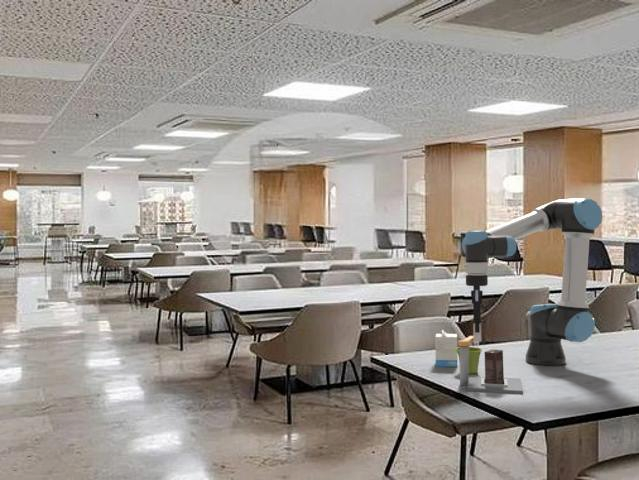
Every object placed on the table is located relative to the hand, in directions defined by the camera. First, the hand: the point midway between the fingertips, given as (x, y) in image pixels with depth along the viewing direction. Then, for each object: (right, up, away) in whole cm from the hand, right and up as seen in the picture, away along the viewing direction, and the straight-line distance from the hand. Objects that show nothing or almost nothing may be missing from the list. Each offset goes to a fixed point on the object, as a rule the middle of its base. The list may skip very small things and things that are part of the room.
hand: (477, 341), depth 241 cm
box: (+4, -14, -8) cm, 17 cm away
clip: (-4, 0, -1) cm, 4 cm away
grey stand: (+3, -14, -7) cm, 16 cm away
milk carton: (-6, -14, +28) cm, 31 cm away
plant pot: (0, -14, +14) cm, 20 cm away
